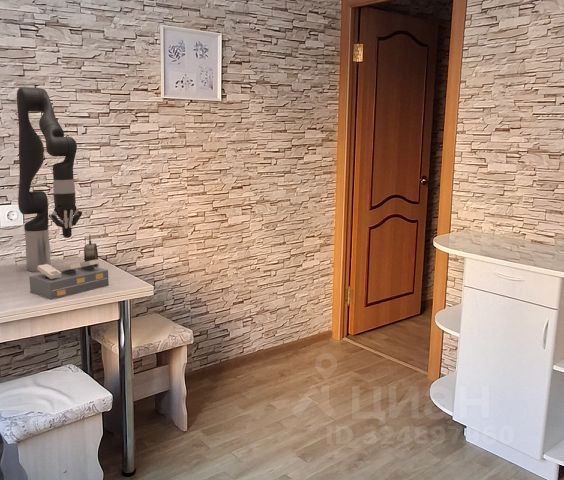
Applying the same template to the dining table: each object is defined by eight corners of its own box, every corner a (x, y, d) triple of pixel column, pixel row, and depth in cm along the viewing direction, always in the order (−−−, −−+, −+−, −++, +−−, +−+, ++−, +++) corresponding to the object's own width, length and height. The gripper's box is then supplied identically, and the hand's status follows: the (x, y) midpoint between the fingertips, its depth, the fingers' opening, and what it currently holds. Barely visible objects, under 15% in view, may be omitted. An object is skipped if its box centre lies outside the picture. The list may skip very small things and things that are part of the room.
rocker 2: (58, 271, 220) (57, 267, 220) (68, 269, 223) (67, 265, 223) (71, 268, 214) (70, 264, 214) (80, 266, 217) (79, 262, 217)
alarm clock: (97, 274, 240) (95, 236, 237) (83, 275, 239) (81, 236, 236) (99, 268, 251) (97, 231, 248) (86, 269, 250) (84, 231, 246)
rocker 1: (37, 269, 213) (37, 265, 213) (47, 267, 216) (47, 263, 216) (50, 279, 208) (51, 274, 208) (61, 276, 211) (61, 272, 211)
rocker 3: (77, 267, 226) (76, 263, 226) (86, 265, 229) (85, 261, 229) (90, 265, 220) (89, 260, 220) (99, 263, 223) (98, 258, 223)
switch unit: (30, 292, 215) (29, 273, 213) (87, 279, 233) (86, 261, 232) (51, 299, 206) (50, 280, 205) (109, 285, 225) (108, 267, 223)
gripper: (74, 189, 223) (77, 234, 226) (42, 192, 213) (45, 238, 216) (86, 190, 218) (88, 236, 222) (53, 193, 208) (56, 241, 212)
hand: (67, 237), depth 219 cm, fingers closed
